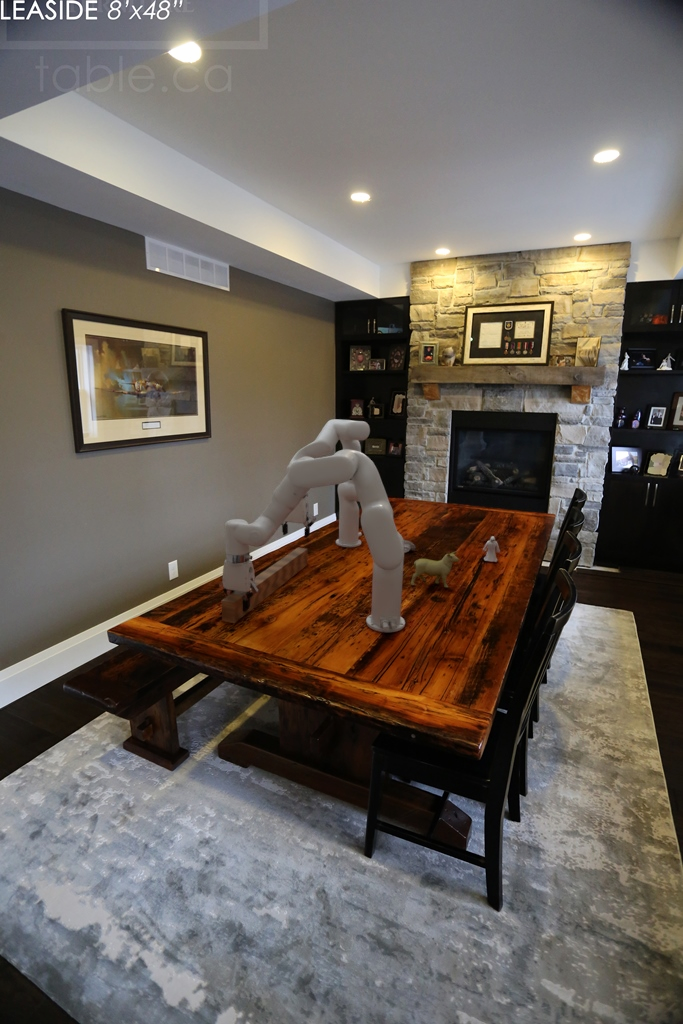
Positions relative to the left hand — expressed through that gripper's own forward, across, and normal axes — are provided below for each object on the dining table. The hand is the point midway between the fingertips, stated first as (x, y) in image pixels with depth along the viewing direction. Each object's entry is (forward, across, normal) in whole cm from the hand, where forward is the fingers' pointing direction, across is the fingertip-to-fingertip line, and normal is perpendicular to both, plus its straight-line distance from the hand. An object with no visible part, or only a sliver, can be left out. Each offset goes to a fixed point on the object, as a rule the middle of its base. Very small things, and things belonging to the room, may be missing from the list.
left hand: (296, 535), depth 206 cm
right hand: (+13, 0, +45) cm, 47 cm away
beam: (+15, 0, +23) cm, 27 cm away
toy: (+15, -57, -4) cm, 59 cm away
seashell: (+15, -38, -41) cm, 58 cm away
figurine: (+15, -76, -43) cm, 89 cm away
